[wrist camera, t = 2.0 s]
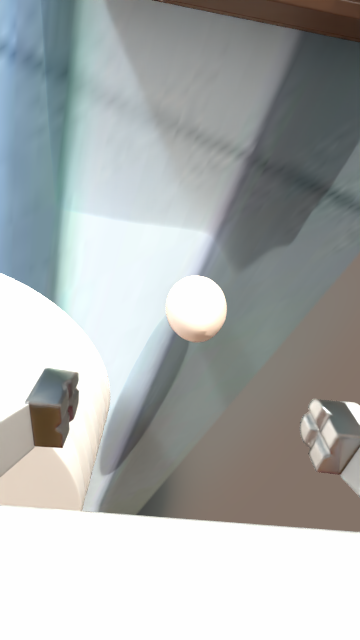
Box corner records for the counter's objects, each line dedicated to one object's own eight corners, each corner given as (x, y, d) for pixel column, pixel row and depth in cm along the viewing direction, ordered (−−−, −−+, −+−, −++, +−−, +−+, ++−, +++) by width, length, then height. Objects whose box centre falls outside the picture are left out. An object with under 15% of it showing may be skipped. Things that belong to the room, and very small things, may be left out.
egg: (202, 254, 25) (209, 286, 19) (231, 297, 27) (245, 338, 21) (156, 284, 26) (149, 323, 21) (186, 323, 28) (188, 368, 23)
